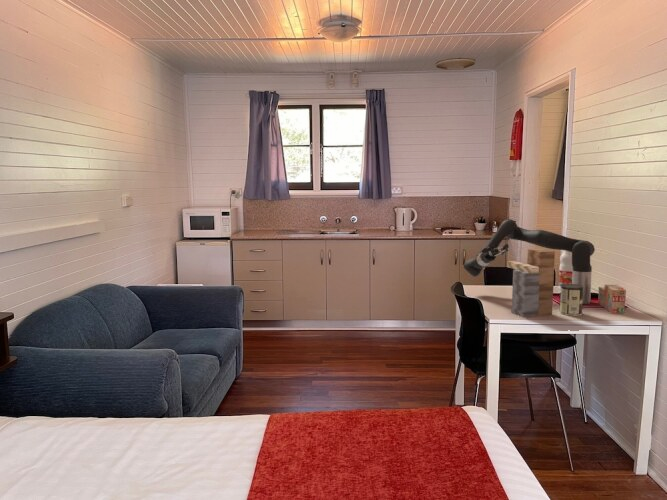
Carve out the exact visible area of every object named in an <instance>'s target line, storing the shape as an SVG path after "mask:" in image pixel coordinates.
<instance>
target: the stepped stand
mask: <svg viewBox="0 0 667 500" xmlns="http://www.w3.org/2000/svg"><path fill="white" fill-rule="evenodd" d="M555 254H556V251H555V250H553V249H548V248H530V249H529V248H528V249H527V261H526V264H529V265H533V266H537V267H539V273H535V274H531V273H527V272H523V271H520V270H516V269H512V292H511V293H512V294H511V295H512V296H511V297H512V298H511V314H513V315H516V316H518V315H519V316H518V317H521V318H523V317H527V318H535V317H537V318H538V317H546V316H547V317H548V316H552V315H553V303H554V284H555V283H554V281H555V279H554V278H555V260H556V259H555Z"/></svg>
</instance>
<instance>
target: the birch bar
mask: <svg viewBox="0 0 667 500" xmlns="http://www.w3.org/2000/svg"><path fill="white" fill-rule="evenodd" d="M506 263H507V264H506V265H507V267H506V268H510V269H512V270H520V271H523V272H527V273H531V274H535V273H539V267H537V266H533V265H529V264H527V263H523V262H520V261H517V260H509V261H507V262H506Z"/></svg>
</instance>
